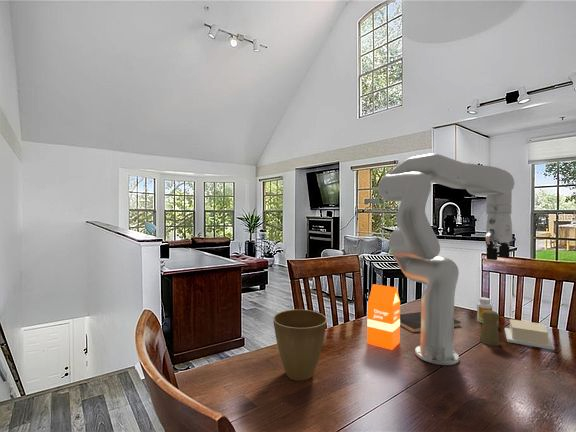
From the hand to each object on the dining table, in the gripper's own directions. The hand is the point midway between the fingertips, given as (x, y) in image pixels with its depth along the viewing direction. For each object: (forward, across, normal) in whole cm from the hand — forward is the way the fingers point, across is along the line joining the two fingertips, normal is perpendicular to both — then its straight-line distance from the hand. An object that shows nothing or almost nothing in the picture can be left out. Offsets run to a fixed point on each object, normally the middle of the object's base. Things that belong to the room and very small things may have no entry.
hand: (498, 258), depth 116 cm
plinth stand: (+30, +10, -6) cm, 32 cm away
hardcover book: (+30, -5, +26) cm, 40 cm away
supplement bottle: (+30, +17, +12) cm, 36 cm away
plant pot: (+28, -73, +21) cm, 81 cm away
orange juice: (+29, -36, +21) cm, 51 cm away
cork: (+30, -4, +1) cm, 30 cm away
